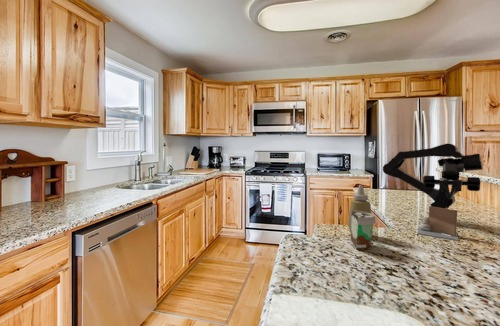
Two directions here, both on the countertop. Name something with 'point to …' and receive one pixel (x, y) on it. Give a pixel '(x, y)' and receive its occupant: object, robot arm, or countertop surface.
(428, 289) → the countertop surface
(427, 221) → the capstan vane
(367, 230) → the food container
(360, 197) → the squeeze bottle
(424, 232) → the slate base
